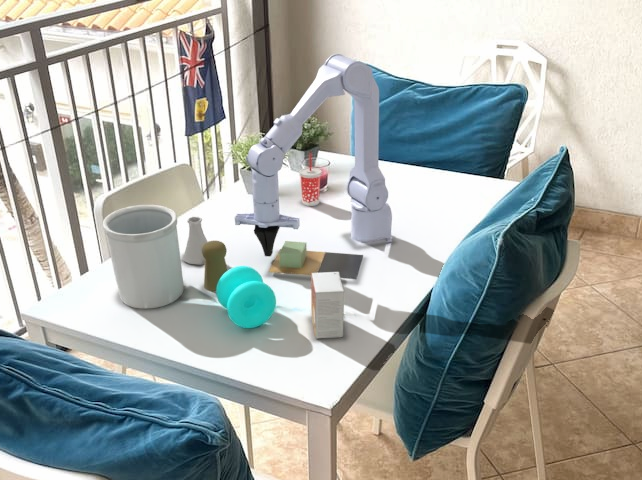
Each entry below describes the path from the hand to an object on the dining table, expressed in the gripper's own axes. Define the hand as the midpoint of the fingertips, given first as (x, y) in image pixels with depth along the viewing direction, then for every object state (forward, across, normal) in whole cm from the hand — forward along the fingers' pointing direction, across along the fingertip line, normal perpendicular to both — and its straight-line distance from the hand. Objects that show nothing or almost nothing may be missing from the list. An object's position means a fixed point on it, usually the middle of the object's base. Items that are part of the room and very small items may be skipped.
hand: (268, 254), depth 161 cm
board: (+2, +11, 0) cm, 12 cm away
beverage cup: (+2, +3, +37) cm, 38 cm away
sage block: (+1, +6, 0) cm, 6 cm away
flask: (+2, -17, 0) cm, 17 cm away
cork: (+2, -8, -14) cm, 16 cm away
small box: (+2, +18, -25) cm, 31 cm away
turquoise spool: (+2, +2, -24) cm, 25 cm away
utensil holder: (+2, -22, -18) cm, 29 cm away
